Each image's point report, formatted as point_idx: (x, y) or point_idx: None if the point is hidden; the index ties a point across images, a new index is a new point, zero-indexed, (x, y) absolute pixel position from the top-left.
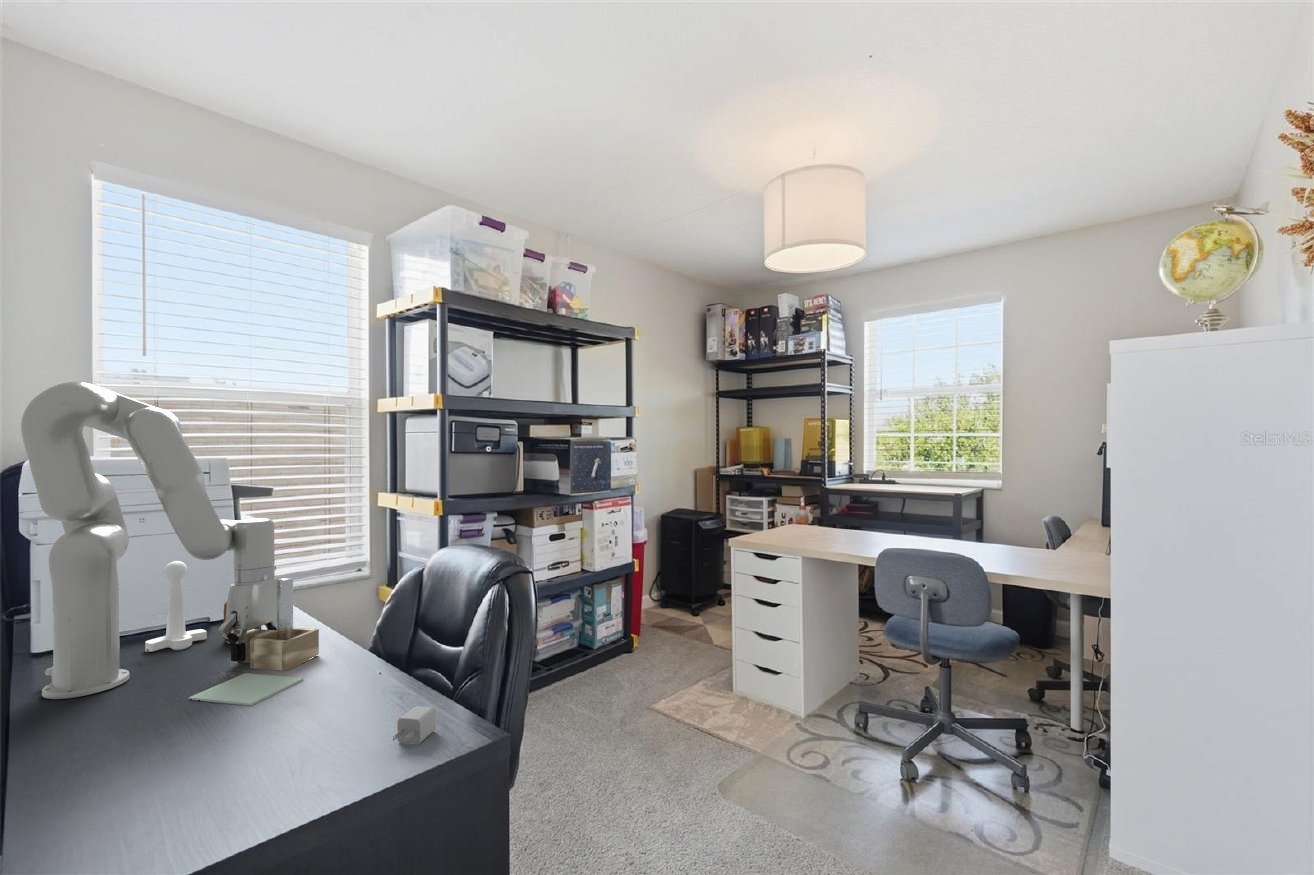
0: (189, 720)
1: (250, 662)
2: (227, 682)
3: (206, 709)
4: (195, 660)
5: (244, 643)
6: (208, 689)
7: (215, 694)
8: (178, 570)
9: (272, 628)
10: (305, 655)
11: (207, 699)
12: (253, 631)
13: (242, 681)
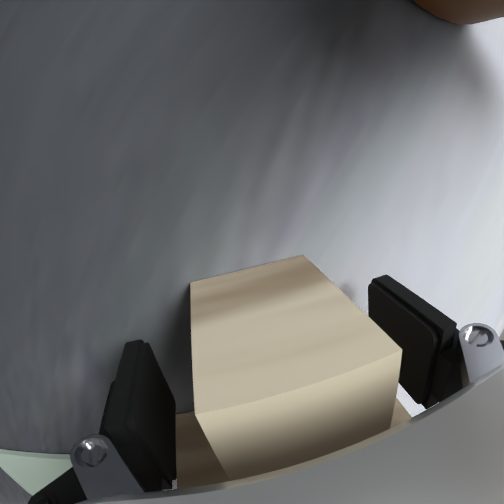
0: (2, 496)
1: (176, 434)
2: (65, 467)
3: (22, 496)
4: (108, 5)
5: (167, 486)
6: (20, 458)
7: (34, 486)
8: None
9: (440, 399)
10: None
11: (21, 486)
12: (331, 432)
13: None
